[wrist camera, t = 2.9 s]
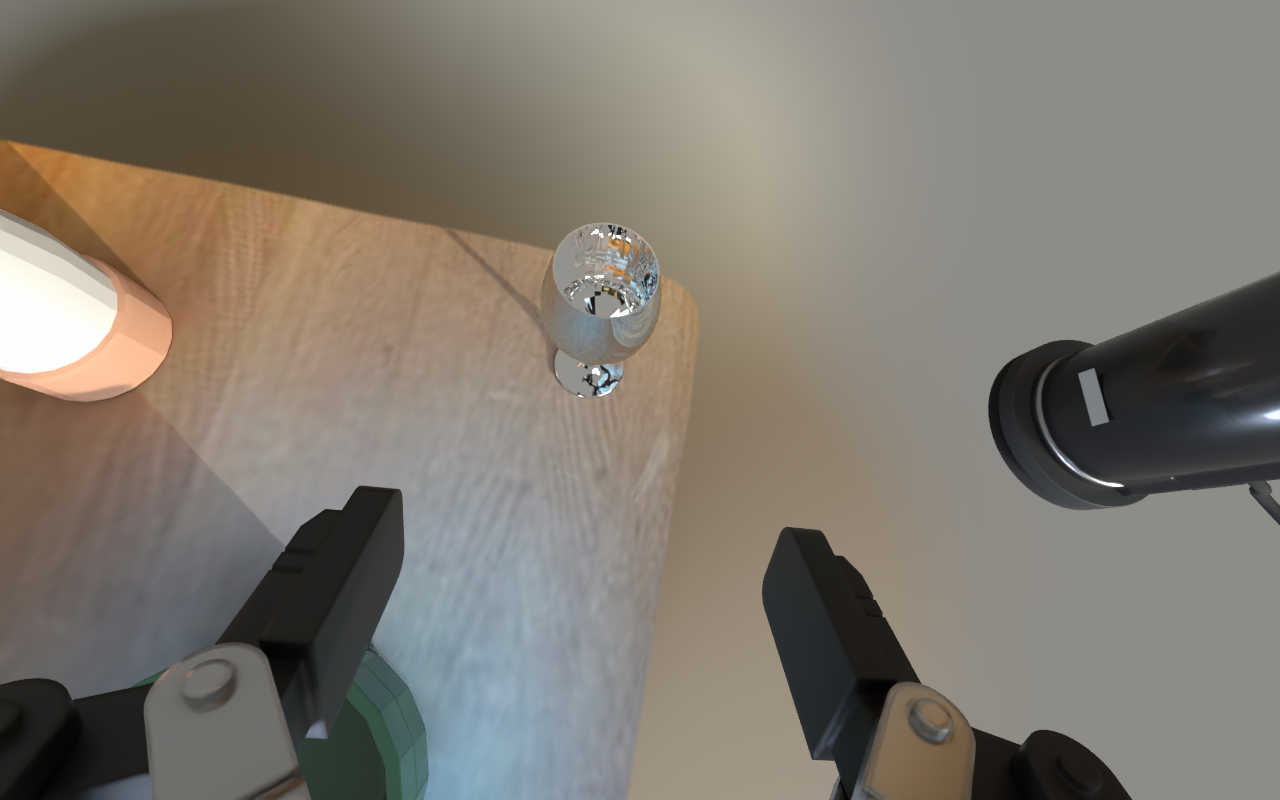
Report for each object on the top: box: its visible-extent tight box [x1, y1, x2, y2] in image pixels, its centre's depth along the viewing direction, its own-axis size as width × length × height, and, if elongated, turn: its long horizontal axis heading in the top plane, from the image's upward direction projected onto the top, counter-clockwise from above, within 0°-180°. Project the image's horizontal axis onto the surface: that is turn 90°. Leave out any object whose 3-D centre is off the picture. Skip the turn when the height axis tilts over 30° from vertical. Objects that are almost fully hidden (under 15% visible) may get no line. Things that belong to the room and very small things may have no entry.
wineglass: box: [541, 223, 662, 398], centre depth 29 cm, size 6×6×12 cm
